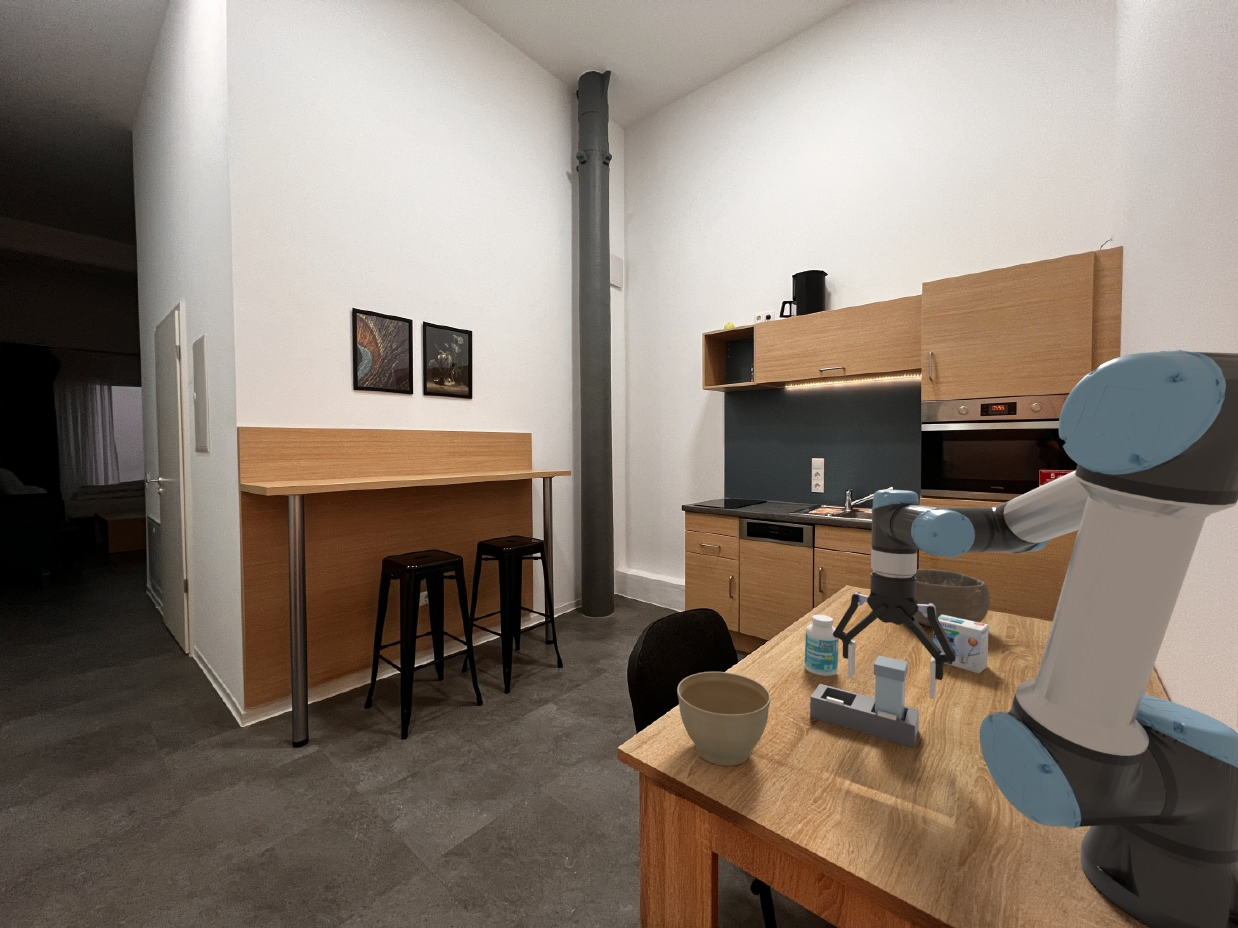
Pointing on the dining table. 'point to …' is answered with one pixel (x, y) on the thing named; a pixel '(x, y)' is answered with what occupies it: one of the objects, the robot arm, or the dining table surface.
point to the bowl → (951, 595)
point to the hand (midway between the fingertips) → (890, 685)
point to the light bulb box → (966, 642)
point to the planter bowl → (723, 715)
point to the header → (863, 715)
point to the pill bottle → (821, 647)
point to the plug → (890, 686)
